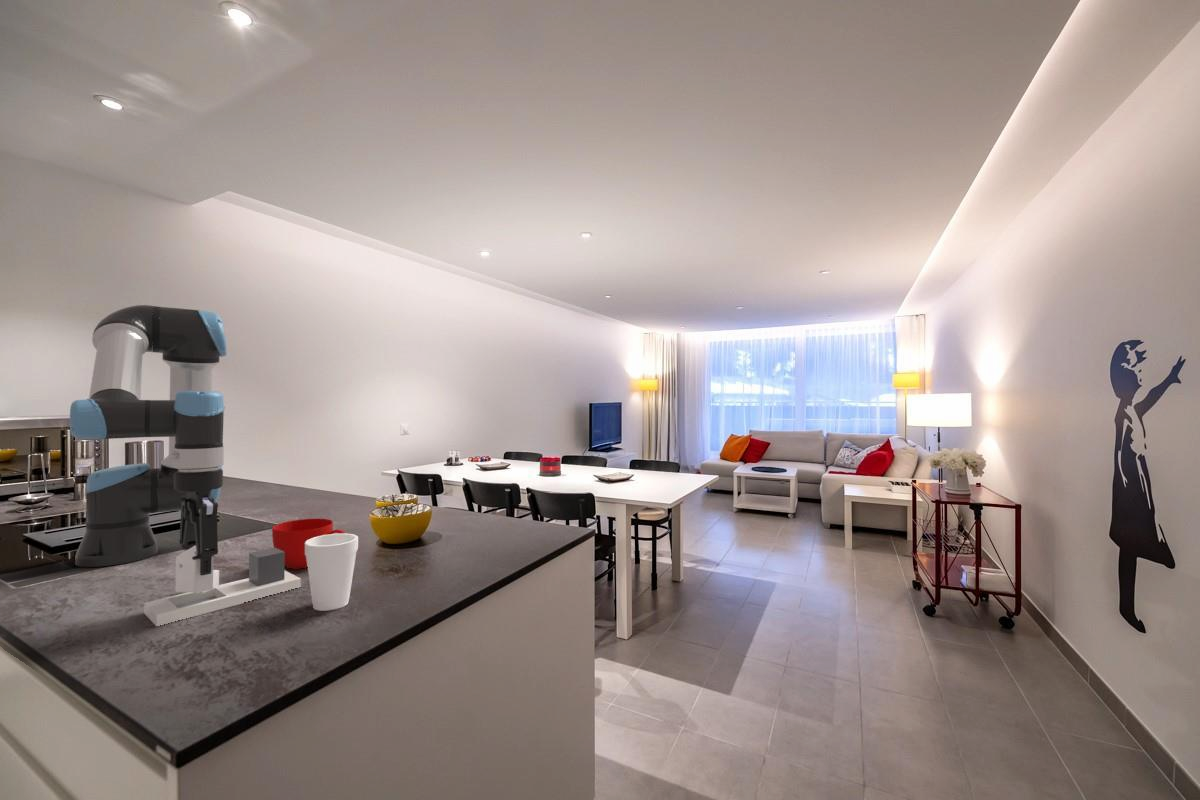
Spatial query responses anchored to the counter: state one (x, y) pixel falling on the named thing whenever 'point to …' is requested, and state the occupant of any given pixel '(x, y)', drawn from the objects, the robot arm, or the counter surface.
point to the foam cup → (331, 569)
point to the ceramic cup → (299, 538)
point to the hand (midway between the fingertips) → (197, 585)
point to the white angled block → (189, 572)
